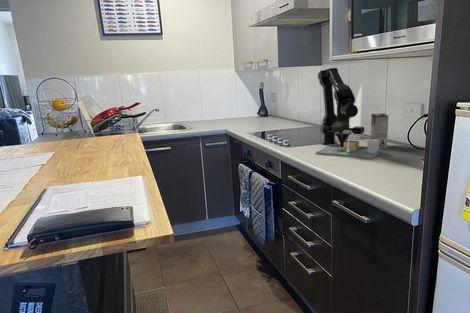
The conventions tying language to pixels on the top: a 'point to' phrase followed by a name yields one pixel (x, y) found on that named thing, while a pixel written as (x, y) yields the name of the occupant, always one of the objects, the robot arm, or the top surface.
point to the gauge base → (360, 153)
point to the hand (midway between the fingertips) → (342, 147)
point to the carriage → (351, 145)
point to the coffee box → (379, 129)
